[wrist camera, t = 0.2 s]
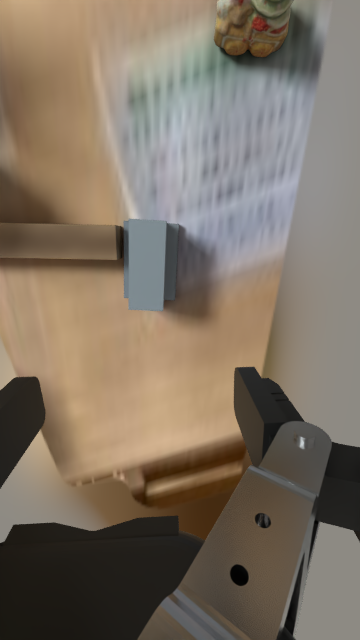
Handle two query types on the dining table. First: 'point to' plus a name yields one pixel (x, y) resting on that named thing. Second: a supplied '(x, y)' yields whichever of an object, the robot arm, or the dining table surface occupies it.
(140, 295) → the fulcrum ridge
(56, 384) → the dining table surface
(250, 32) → the ornament
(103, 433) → the dining table surface
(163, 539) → the robot arm
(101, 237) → the walnut bar
